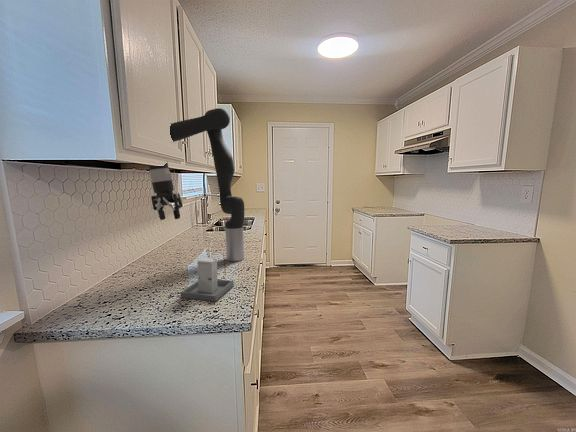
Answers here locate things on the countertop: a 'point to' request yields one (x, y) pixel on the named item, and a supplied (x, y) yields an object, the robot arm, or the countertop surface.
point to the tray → (213, 297)
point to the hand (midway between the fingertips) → (170, 219)
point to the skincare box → (207, 275)
